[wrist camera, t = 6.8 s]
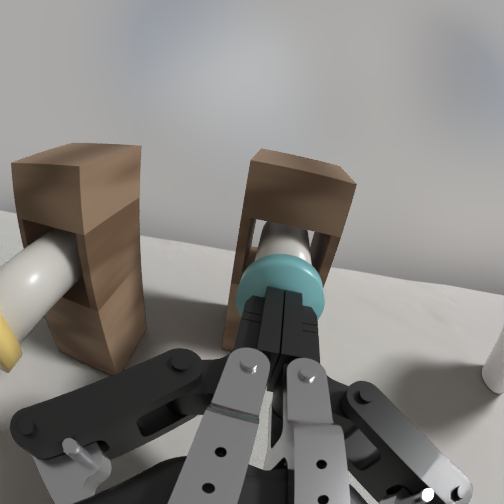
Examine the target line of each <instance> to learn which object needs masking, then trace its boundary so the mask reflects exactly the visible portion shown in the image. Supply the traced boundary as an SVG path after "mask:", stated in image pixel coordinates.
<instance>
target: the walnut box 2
mask: <svg viewBox="0 0 504 504" xmlns="http://www.w3.org/2000/svg"><path fill="white" fill-rule="evenodd" d="M356 185H357V184H356V183H355V182H354V181H353V180H352V179H351V178H350V177H349V176H348V175H347V173H346V172H345V171H344V170H343V169H342V168H341V167H340V166H337V165H333V164H329V163H325V162H321V161H317V160H313V159H309V158H304V157H300V156H295V155H291V154H286V153H281V152H277V151H271V150H266V149H261V150H260V151H259V152H258V153H257V154H256V155H255V156H254V157H253V158H252V159H251V161H250V167H249V173H248V179H247V185H246V191H245V197H244V203H243V209H242V216H241V222H240V229H239V235H238V241H237V247H236V254H235V260H234V267H233V273H232V280H231V287H230V293H229V300H228V307H227V314H226V321H225V328H224V335H223V342H222V349H225V350H229V351H232V350H233V348H234V345H235V341H236V337H237V333H238V329H239V325H240V321H241V315H240V314H239V312H238V309H237V305H236V294H237V290H238V287H239V284H240V280H241V277H242V275H243V273H244V271H245V270H246V269H247V267H248V266H249V265H251V264H252V263H253V262H254V261H255V257H256V253H257V249H258V248H257V247H252V246H251V244H252V239H253V234H254V228H255V223H256V219H259V220H264V221H269V222H273V223H278V224H283V225H288V226H292V227H297V228H301V229H306V230H311V231H315V232H314V236H313V239H312V243H311V246H310V255H311V264H312V266H313V267H314V268H315V269H316V271H317V272H318V274H319V276H320V278H321V281H322V286H323V287H324V284H325V282H326V279H327V276H328V273H329V270H330V268H331V264H332V262H333V259H334V256H335V253H336V250H337V247H338V244H339V241H340V238H341V235H342V232H343V229H344V225H345V222H346V219H347V216H348V213H349V209H350V206H351V203H352V199H353V196H354V192H355V189H356Z"/></svg>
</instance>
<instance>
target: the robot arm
mask: <svg viewBox="0 0 504 504" xmlns="http://www.w3.org/2000/svg"><path fill="white" fill-rule="evenodd" d="M317 326H318V321H317V315H316V313H315V312H314V310H313V308H312V307H309V306H304V305H303V299H302V293H299V292H294V291H289V290H285V291H284V289H279V288H274V287H270V286H267V288H266V292H265V296H264V297H259V296H254V295H252V296H251V297H250V298H249V299H248V300H247V301H246V302H245V306H244V309H243V313H242V317H241V321H240V325H239V329H238V333H237V337H236V341H235V345H234V348H233V350H232V351H231V352H230V354H228V355H227V356H225V357H223V358H220V359H215V360H201V358H200V357H199V356H198V355H197V354H196V353H194V352H193V351H191V350H188V349H182V348H178V349H172V350H169V351H167V352H165V353H163V354H161V355H158V356H156V357H154V358H152V359H149V360H147V361H145V362H143V363H140V364H138V365H136V366H133V367H131V368H129V369H126V370H124V371H122V372H119V373H117V374H114V375H112V376H110V377H107V378H105V379H102V380H100V381H97V382H95V383H92V384H90V385H87V386H85V387H82V388H79V389H77V390H74V391H72V392H69V393H66V394H64V395H61V396H58V397H55V398H53V399H50V400H47V401H44V402H41V403H38V404H36V405H33V406H30V407H27V408H24V409H21V410H19V411H17V412H16V413H15V414H14V416H13V417H12V420H11V424H10V430H11V434H12V437H13V439H14V440H15V442H16V443H17V444H18V445H19V446H21V447H22V448H23V449H24V450H26V451H27V452H28V453H29V454H30V455H31V456H32V457H33V459H34V461H35V464H36V466H37V468H38V471H39V473H40V475H41V477H42V479H43V482H44V484H45V486H46V488H47V490H48V492H49V494H50V495H51V497H52V499H53V501H54V503H55V504H368V503H367V502H366V501H365V500H364V499H363V498H362V496H361V495H360V494H359V493H358V492H357V491H356V490H355V488H353V487H352V486H351V485H350V484H349V479H348V471H349V472H350V473H351V474H352V475H353V476H354V477H355V478H356V479H357V481H358V482H359V483H360V484H361V485H362V486H363V487H364V488H365V489H366V490H367V491H368V492H369V493H370V495H371V496H372V497H373V498H374V499H375V500H376V501H377V502H378V503H379V504H468V503H469V501H470V499H471V497H472V491H473V489H472V484H471V482H470V480H469V479H468V478H467V477H466V476H465V475H464V474H463V473H462V472H461V471H460V470H459V469H458V468H457V467H456V466H455V465H454V464H453V463H452V462H451V461H450V460H449V459H448V458H447V457H446V456H445V455H444V454H443V453H442V452H441V451H440V450H439V449H438V448H437V447H436V446H435V445H434V444H433V443H432V442H431V441H430V440H429V439H428V438H427V437H426V436H425V435H424V434H423V433H422V432H421V431H420V430H419V429H418V428H417V427H416V426H415V425H414V424H413V423H412V422H411V421H410V420H409V419H408V418H407V417H406V416H405V415H404V414H403V413H402V412H401V411H400V410H399V409H398V408H397V407H396V406H395V405H394V404H393V403H392V402H391V401H390V400H389V399H388V398H387V397H386V396H385V395H384V394H383V393H382V392H381V391H380V390H379V389H378V388H377V387H376V386H375V385H373V384H371V383H369V382H366V381H357V382H355V383H353V384H351V385H350V387H349V386H347V385H344V384H342V383H339V382H337V381H335V380H333V379H331V378H330V377H328V376H327V375H326V371H325V369H324V368H323V367H322V365H321V364H320V353H319V336H318V327H317ZM266 386H267V391H271V392H273V399H272V402H271V404H270V407H269V422H268V448H267V454H266V458H265V462H264V469H263V470H262V469H259V468H257V467H254V466H251V465H249V460H250V456H251V453H252V449H253V445H254V441H255V437H256V433H257V429H258V424H259V413H260V409H261V405H262V401H263V397H264V392H265V389H266ZM197 415H203V418H202V420H201V423H200V425H199V428H198V430H197V433H196V435H195V438H194V440H193V443H192V445H191V448H190V450H189V453H188V455H187V456H182V457H176V458H172V459H168V460H165V461H163V462H160V463H158V464H156V465H154V466H153V467H151V468H149V469H147V470H145V471H143V472H142V473H140V474H138V475H136V476H134V477H132V478H130V479H128V480H126V481H124V482H122V483H120V484H118V485H116V486H114V487H111V488H109V489H107V490H105V491H103V492H100V493H98V494H96V495H95V490H96V488H97V486H98V485H99V484H100V483H102V482H103V481H105V480H106V479H107V478H108V477H109V476H110V474H111V470H112V466H111V462H110V460H111V459H113V458H116V457H118V456H120V455H122V454H125V453H127V452H129V451H131V450H133V449H135V448H137V447H140V446H142V445H144V444H146V443H148V442H150V441H152V440H154V439H156V438H158V437H160V436H161V435H163V434H165V433H167V432H169V431H171V430H173V429H175V428H176V427H178V426H180V425H182V424H184V423H185V422H187V421H189V420H191V419H192V418H194V417H196V416H197Z"/></svg>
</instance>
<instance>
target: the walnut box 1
mask: <svg viewBox="0 0 504 504" xmlns="http://www.w3.org/2000/svg"><path fill="white" fill-rule="evenodd" d="M141 147H142V146H135V145H134V146H133V145H118V144H94V143H71V144H67V145H64V146H60V147H57V148H53V149H50V150H47V151H44V152H41V153H37V154H35V155H32V156H29V157H26V158H23V159H20V160H18V161H15V162H12V163H11V167H12V180H13V190H14V198H15V205H16V212H17V218H18V224H19V229H20V234H21V239H22V243H23V247H24V249H25V248H26V247H27V246H29V245H30V244H32V243H33V242H34V241H36V240H37V239H39V238H40V237H41V236H43V235H44V234H46V233H47V232H49V231H50V230H52V229H53V228H58V229H62V230H66V231H69V232H73V233H76V237H77V244H78V250H79V256H80V262H81V267H82V273H83V276H82V277H81V278H80V279H79V280H78V281H77V282H76V283H75V284H74V285H73V286H72V287H71V288H70V289H69V290H68V291H67V292H66V293H65V294H64V295H63V296H62V297H61V298H60V299H59V300H58V301H57V302H56V304H55V305H54V306H53V307H52V308H51V309H50V310H49V311H48V312H47V313H46V314H45V315H44V316H45V318H46V321H47V323H48V326H49V328H50V330H51V333H52V335H53V337H54V340H55V342H56V344H57V346H58V349H59V351H61V352H63V353H65V354H67V355H69V356H71V357H73V358H75V359H77V360H79V361H81V362H83V363H85V364H87V365H89V366H92V367H94V368H96V369H98V370H100V371H103V372H105V373H107V374H110V375H114V374H117V373H119V372H122V371H123V369H124V367H125V365H126V363H127V362H128V360H129V358H130V356H131V355H132V353H133V351H134V350H135V348H136V346H137V344H138V343H139V341H140V339H141V338H142V336H143V334H144V332H145V331H146V329H147V324H146V316H145V307H144V297H143V285H142V272H141V254H140V223H139V195H140V194H139V193H140V192H139V191H140V164H141Z"/></svg>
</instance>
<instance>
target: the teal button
mask: <svg viewBox="0 0 504 504" xmlns="http://www.w3.org/2000/svg"><path fill="white" fill-rule="evenodd" d="M267 286H270V287H274V288H279V289H284V291H285V290H289V291H294V292H299V293H302V299H303V305H304V306H309V307H312V308H313V310H314V312H315V313H316V315H317V320H318V319H319V317H320V316H321V314H322V312H323V309H324V293H323V286H322V281H321V278H320V276H319V274H318V272H317V271H316V269H315V268H314V267H313V266H312V264H311V255H310V247H309V238H308V231H307V230H306V229H301V228H297V227H292V226H288V225H283V224H278V223H273V222H269V221H267V222H266V224H265V225H264V227H263V230H262V234H261V238H260V242H259V245H258V249H257V253H256V257H255V261H254V262H253V263H252V264H251V265H249V266H248V267H247V269H246V270H245V271H244V273H243V275H242V277H241V280H240V284H239V287H238V290H237V294H236V305H237V309H238V312H239V314H240V315H241V317H242V313H243V309H244V306H245V302H246V301H247V300H248V299H249V298H250V297H251V296H252V295H254V296H259V297H264V296H265V292H266V288H267Z"/></svg>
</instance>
